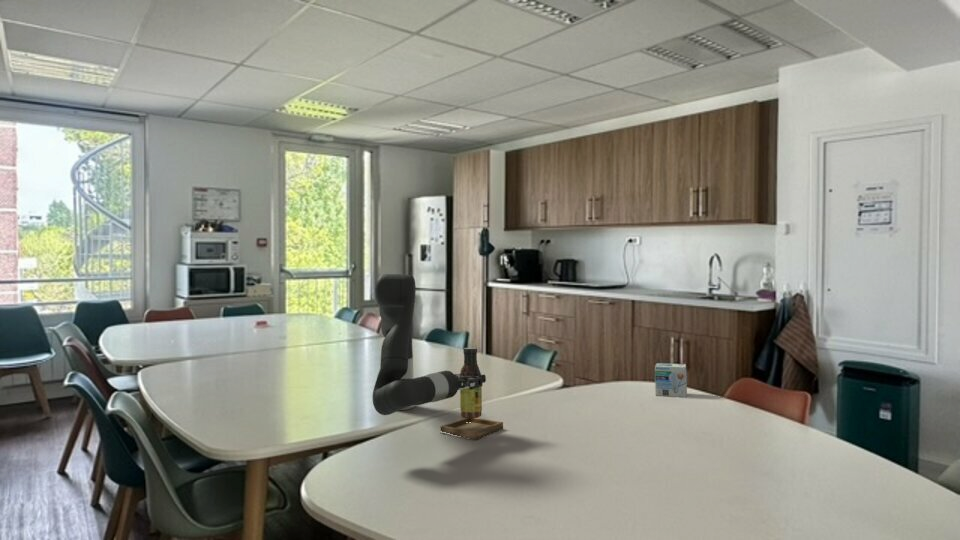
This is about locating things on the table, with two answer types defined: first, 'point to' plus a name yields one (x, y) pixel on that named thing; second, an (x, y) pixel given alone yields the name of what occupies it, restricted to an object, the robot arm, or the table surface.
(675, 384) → the light bulb box
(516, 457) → the table surface
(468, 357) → the sauce bottle
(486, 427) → the walnut tray
